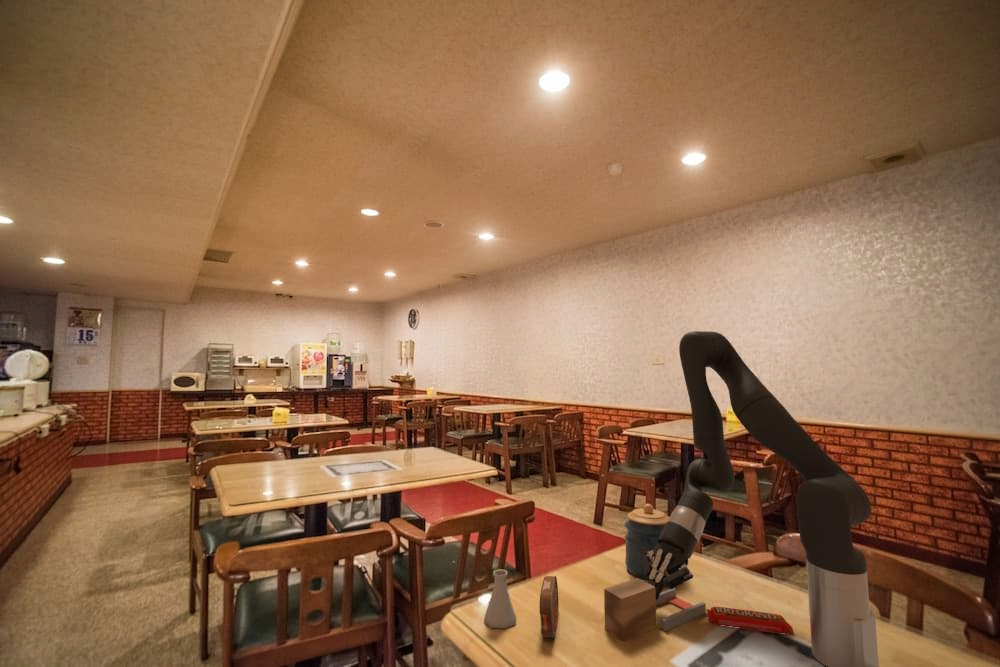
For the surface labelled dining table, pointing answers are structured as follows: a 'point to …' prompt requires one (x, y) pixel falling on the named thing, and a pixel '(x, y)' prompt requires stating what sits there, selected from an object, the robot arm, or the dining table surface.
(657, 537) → the canister
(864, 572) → the robot arm
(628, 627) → the block
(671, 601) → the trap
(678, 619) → the channel
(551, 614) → the tin
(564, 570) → the dining table surface
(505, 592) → the flask
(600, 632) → the dining table surface
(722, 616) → the candy bar
